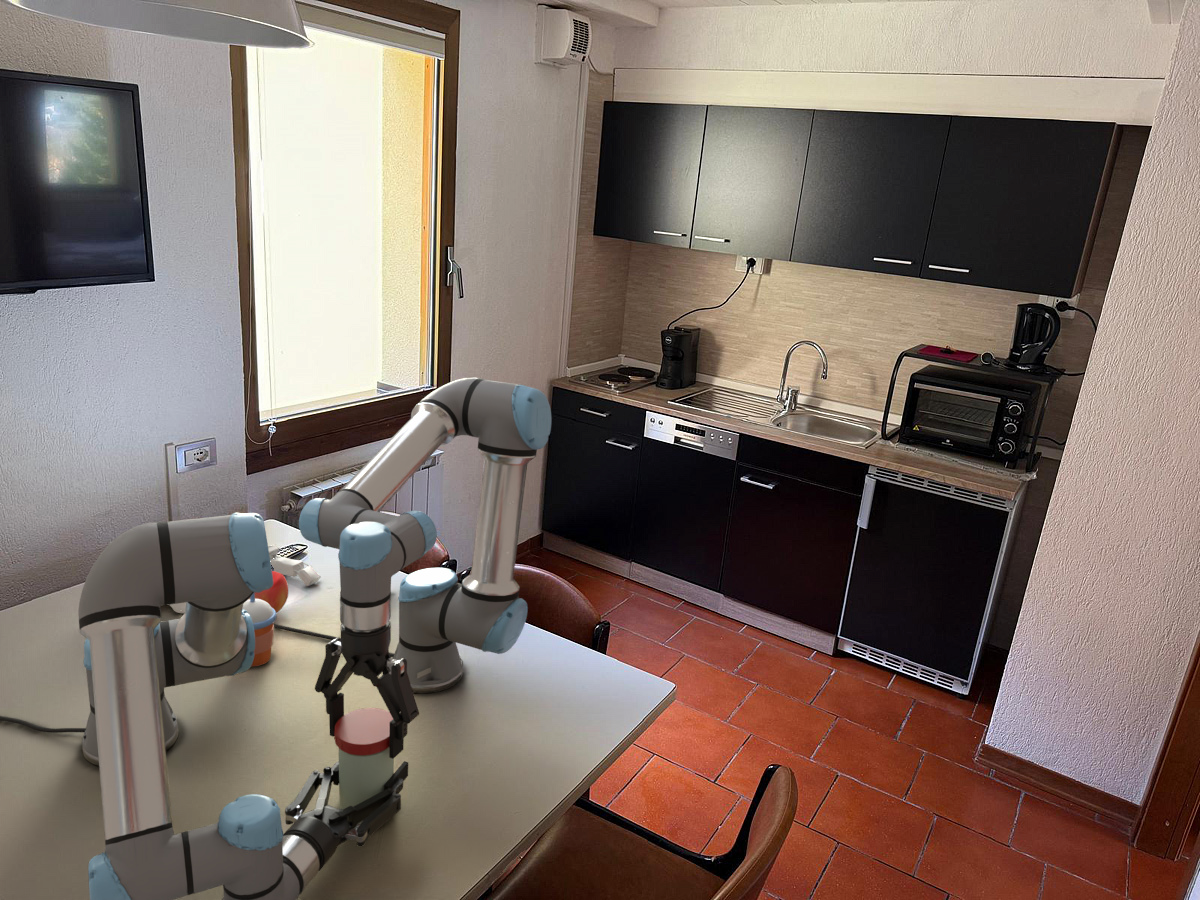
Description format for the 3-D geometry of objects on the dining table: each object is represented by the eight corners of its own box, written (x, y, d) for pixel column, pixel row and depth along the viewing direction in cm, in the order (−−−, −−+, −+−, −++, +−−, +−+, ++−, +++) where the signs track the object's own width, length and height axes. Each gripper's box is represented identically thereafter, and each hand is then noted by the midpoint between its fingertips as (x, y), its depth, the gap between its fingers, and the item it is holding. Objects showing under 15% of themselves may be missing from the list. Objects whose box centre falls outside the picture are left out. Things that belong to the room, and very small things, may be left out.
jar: (377, 835, 137) (377, 752, 133) (329, 822, 139) (327, 740, 135) (402, 800, 145) (403, 720, 141) (356, 788, 147) (355, 709, 143)
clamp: (253, 565, 223) (254, 542, 221) (265, 560, 226) (266, 537, 224) (309, 593, 215) (310, 569, 213) (320, 588, 218) (321, 564, 216)
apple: (273, 600, 207) (272, 562, 204) (297, 613, 202) (296, 575, 199) (237, 614, 200) (234, 575, 197) (261, 628, 194) (259, 588, 191)
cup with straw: (262, 673, 177) (258, 595, 172) (223, 666, 179) (218, 588, 174) (286, 652, 186) (283, 577, 181) (248, 645, 187) (244, 570, 182)
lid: (347, 763, 131) (347, 752, 131) (325, 729, 139) (325, 718, 138) (407, 743, 137) (407, 732, 136) (383, 711, 145) (383, 701, 144)
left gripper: (238, 855, 128) (326, 764, 148) (365, 896, 122) (438, 796, 143) (235, 813, 125) (325, 727, 146) (364, 854, 120) (439, 758, 141)
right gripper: (444, 630, 131) (440, 751, 138) (321, 593, 139) (323, 709, 146) (415, 652, 124) (413, 778, 131) (288, 612, 133) (292, 733, 139)
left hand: (381, 761), depth 145 cm, fingers closed on jar, 9 cm apart
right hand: (366, 742), depth 138 cm, fingers open, 11 cm apart
